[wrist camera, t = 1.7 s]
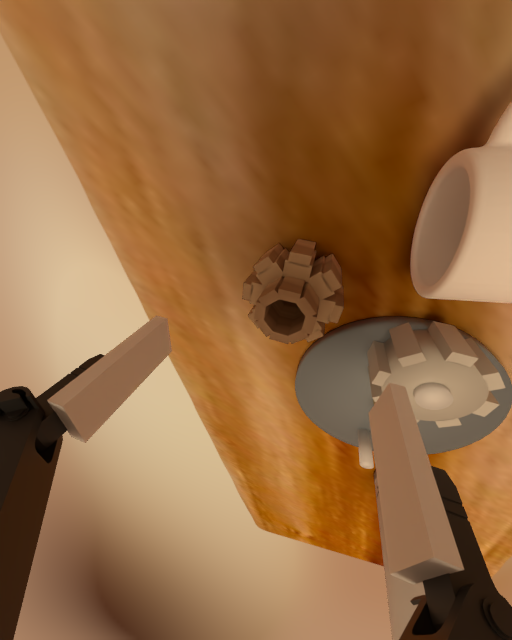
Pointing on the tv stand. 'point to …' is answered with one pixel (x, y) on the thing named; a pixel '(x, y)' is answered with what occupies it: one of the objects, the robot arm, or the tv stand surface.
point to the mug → (468, 225)
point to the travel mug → (397, 587)
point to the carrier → (403, 381)
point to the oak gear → (294, 293)
